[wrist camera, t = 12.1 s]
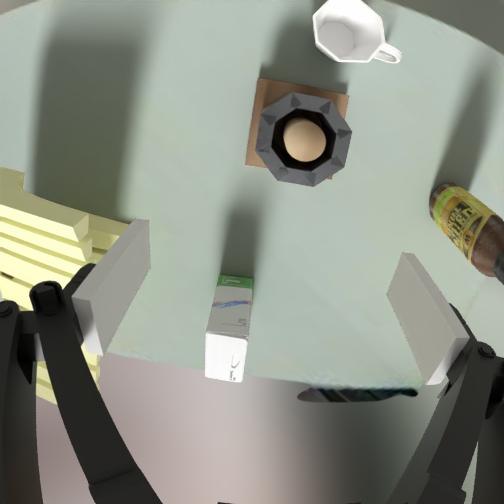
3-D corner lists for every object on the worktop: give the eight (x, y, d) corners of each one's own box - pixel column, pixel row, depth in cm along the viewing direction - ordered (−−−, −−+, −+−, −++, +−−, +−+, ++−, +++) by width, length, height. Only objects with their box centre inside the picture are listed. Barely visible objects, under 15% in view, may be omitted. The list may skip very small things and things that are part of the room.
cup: (311, 5, 28) (322, -16, 21) (393, 37, 28) (422, 28, 21) (294, 57, 31) (301, 48, 24) (377, 88, 32) (403, 89, 25)
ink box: (218, 273, 45) (204, 331, 34) (254, 277, 45) (249, 337, 34) (216, 320, 49) (203, 379, 38) (248, 324, 49) (242, 384, 38)
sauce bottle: (432, 177, 36) (527, 251, 19) (468, 185, 36) (562, 257, 19) (421, 222, 39) (498, 315, 22) (456, 227, 39) (536, 314, 22)
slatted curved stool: (47, 146, 37) (-45, 189, 21) (147, 167, 38) (72, 227, 22) (52, 309, 51) (4, 377, 35) (129, 337, 52) (92, 419, 36)
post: (245, 161, 37) (237, 188, 28) (258, 78, 32) (254, 73, 23) (329, 176, 37) (348, 207, 28) (346, 95, 33) (373, 98, 23)
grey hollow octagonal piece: (254, 157, 35) (250, 176, 28) (265, 88, 32) (264, 87, 24) (324, 169, 36) (338, 191, 29) (338, 102, 32) (357, 106, 25)
